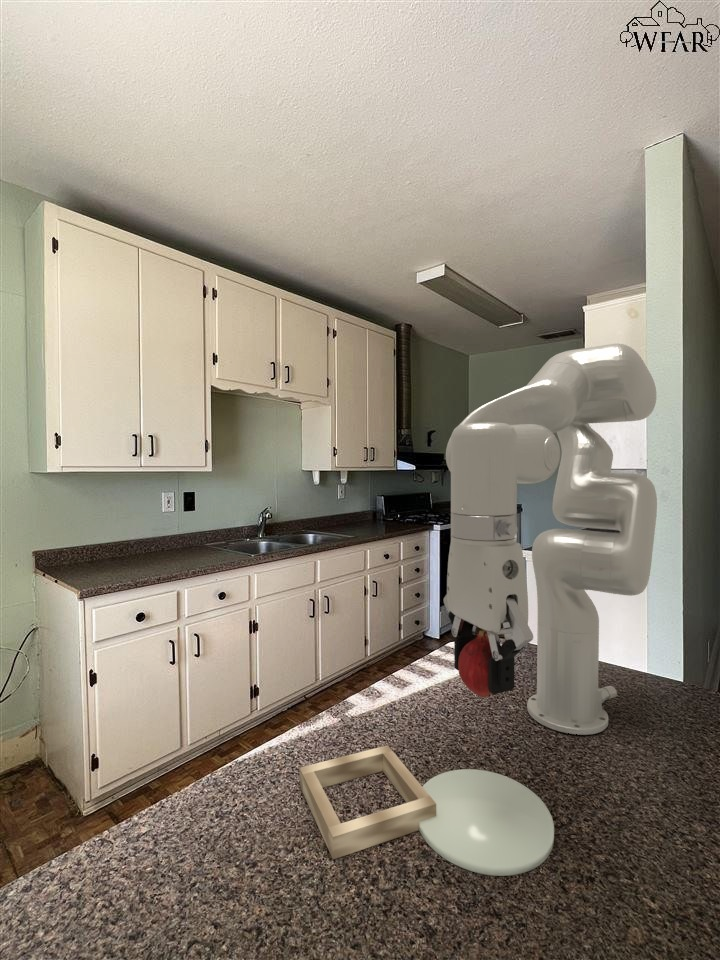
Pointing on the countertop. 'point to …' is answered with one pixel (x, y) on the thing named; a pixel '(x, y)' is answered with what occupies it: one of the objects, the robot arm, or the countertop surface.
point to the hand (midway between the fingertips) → (482, 677)
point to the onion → (476, 664)
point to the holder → (375, 825)
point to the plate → (487, 823)
